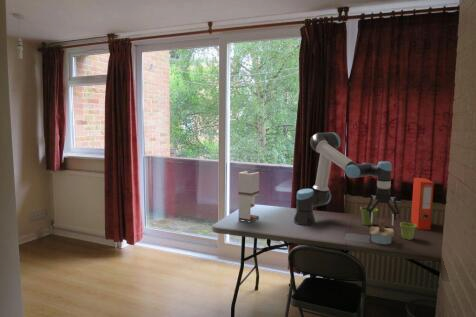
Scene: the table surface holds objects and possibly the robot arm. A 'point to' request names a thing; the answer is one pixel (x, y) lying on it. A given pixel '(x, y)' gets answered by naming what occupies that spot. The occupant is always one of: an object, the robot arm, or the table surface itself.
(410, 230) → the plant pot
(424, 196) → the file binder
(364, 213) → the plant pot
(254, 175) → the white coffee grinder
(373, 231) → the oak board
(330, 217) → the table surface
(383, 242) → the slate-blue bowl
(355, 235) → the charcoal mat
